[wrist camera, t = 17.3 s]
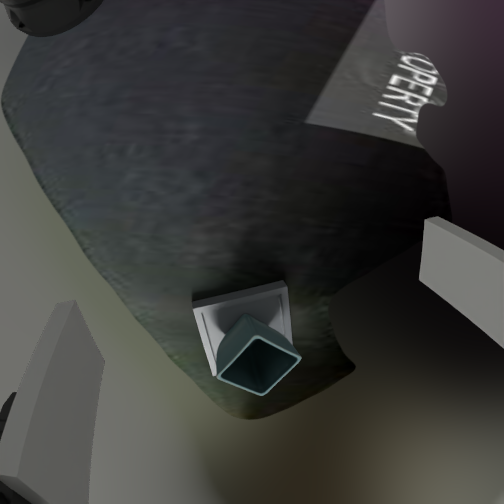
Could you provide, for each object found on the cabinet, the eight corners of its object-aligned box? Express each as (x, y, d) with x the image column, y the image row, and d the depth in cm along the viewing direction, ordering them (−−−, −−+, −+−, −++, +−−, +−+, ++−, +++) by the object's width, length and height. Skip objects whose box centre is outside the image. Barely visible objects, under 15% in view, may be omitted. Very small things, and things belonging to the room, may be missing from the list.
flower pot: (206, 338, 48) (214, 378, 40) (241, 297, 47) (256, 334, 39) (249, 358, 52) (263, 397, 44) (283, 322, 50) (303, 357, 42)
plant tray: (191, 301, 46) (192, 308, 44) (283, 280, 48) (287, 286, 47) (211, 368, 52) (213, 376, 50) (289, 348, 54) (293, 355, 53)
